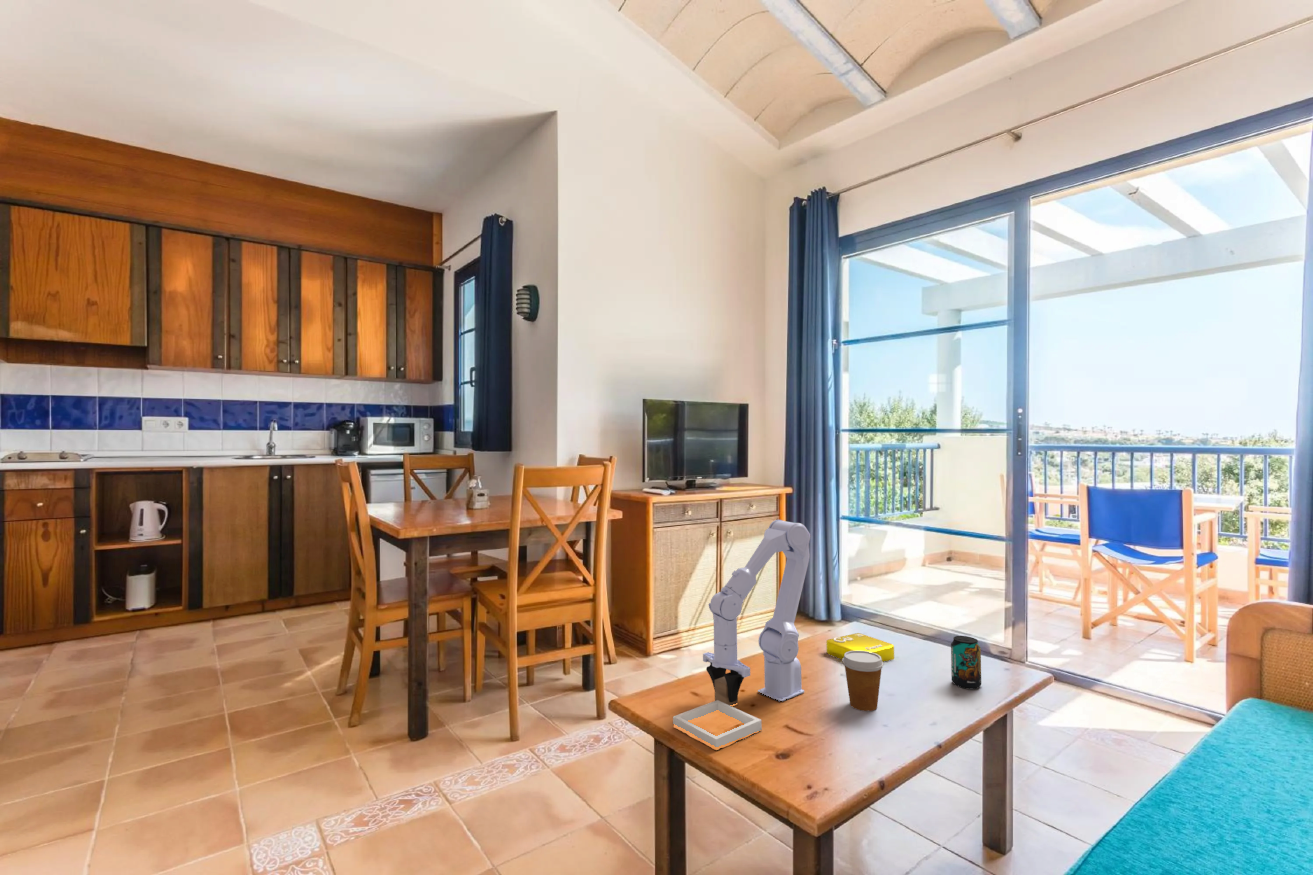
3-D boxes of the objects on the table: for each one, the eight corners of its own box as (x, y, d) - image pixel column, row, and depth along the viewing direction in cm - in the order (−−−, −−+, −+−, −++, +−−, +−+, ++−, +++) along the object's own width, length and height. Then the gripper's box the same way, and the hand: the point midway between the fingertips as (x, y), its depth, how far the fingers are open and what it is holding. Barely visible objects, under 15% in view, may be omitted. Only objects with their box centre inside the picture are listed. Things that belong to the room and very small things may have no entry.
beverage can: (978, 692, 155) (977, 645, 155) (949, 685, 159) (948, 640, 159) (983, 683, 160) (982, 637, 161) (954, 677, 165) (953, 633, 165)
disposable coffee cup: (857, 716, 142) (857, 664, 142) (835, 700, 151) (834, 651, 151) (892, 711, 144) (891, 660, 145) (868, 695, 154) (867, 648, 154)
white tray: (717, 710, 146) (717, 699, 146) (761, 731, 135) (761, 719, 135) (673, 727, 137) (672, 716, 137) (716, 751, 126) (716, 739, 126)
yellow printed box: (861, 669, 173) (861, 652, 173) (823, 653, 186) (823, 638, 186) (897, 659, 180) (897, 643, 180) (858, 645, 193) (858, 630, 193)
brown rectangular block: (726, 699, 152) (726, 675, 152) (737, 704, 149) (737, 680, 149) (714, 704, 150) (714, 679, 150) (726, 709, 146) (726, 684, 147)
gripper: (693, 638, 153) (694, 692, 152) (735, 653, 141) (736, 712, 141) (713, 633, 157) (714, 685, 157) (755, 647, 146) (756, 703, 146)
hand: (726, 697), depth 149 cm, fingers closed on brown rectangular block, 4 cm apart
